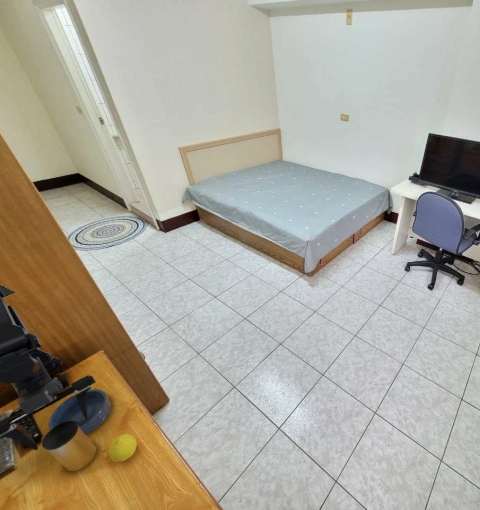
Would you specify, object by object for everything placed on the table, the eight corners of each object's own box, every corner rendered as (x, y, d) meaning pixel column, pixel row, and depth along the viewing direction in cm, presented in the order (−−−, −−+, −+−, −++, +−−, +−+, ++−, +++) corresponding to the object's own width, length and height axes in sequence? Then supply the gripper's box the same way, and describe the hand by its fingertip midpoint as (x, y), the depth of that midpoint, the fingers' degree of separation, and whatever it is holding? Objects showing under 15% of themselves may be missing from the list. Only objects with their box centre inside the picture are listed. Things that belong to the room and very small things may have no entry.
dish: (51, 418, 76) (44, 410, 74) (104, 388, 85) (100, 381, 82) (60, 450, 70) (53, 443, 68) (116, 415, 78) (112, 408, 76)
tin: (63, 458, 68) (39, 435, 62) (93, 439, 73) (74, 415, 66) (68, 478, 65) (44, 455, 59) (99, 456, 69) (80, 433, 63)
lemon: (127, 469, 68) (117, 455, 64) (109, 463, 68) (97, 449, 64) (145, 446, 72) (136, 431, 68) (128, 440, 73) (118, 426, 69)
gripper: (-44, 412, 53) (-5, 477, 53) (77, 354, 66) (108, 407, 66) (-24, 408, 61) (10, 465, 61) (81, 357, 74) (109, 404, 74)
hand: (63, 433), depth 65 cm, fingers open, 9 cm apart
